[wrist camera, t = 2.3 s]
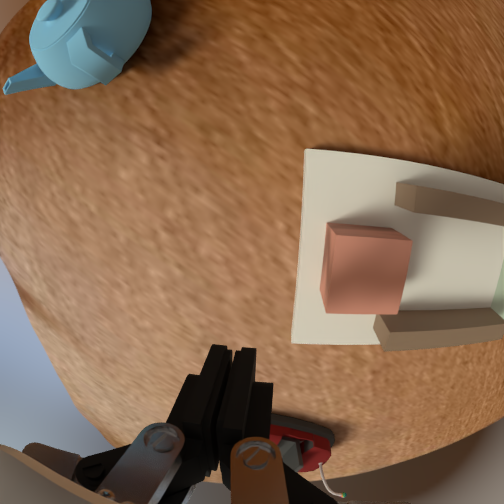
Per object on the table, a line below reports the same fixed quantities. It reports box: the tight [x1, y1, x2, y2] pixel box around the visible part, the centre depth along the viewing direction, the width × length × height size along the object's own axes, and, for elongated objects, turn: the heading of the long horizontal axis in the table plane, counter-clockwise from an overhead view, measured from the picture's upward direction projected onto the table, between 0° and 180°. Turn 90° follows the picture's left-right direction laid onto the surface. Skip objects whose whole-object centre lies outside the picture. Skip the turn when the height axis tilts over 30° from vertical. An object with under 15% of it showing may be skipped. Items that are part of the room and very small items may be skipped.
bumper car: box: [269, 413, 346, 498], centre depth 29 cm, size 10×20×10 cm, turn 71°
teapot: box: [3, 0, 152, 95], centre depth 16 cm, size 15×15×11 cm
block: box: [320, 223, 413, 314], centre depth 21 cm, size 6×6×4 cm
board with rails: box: [291, 149, 504, 351], centre depth 21 cm, size 18×32×6 cm, turn 88°
